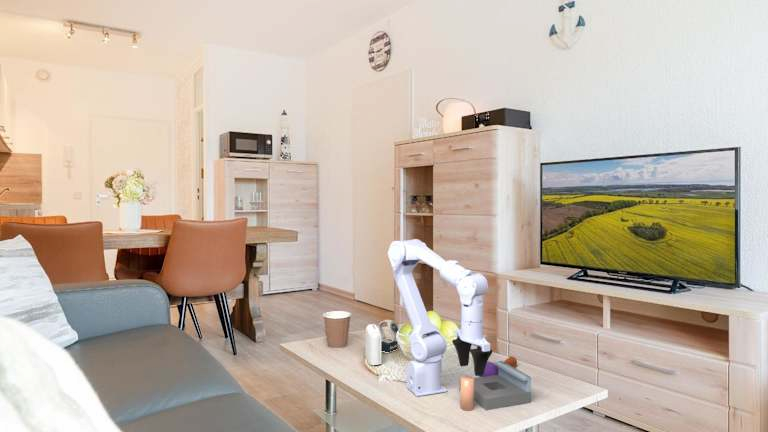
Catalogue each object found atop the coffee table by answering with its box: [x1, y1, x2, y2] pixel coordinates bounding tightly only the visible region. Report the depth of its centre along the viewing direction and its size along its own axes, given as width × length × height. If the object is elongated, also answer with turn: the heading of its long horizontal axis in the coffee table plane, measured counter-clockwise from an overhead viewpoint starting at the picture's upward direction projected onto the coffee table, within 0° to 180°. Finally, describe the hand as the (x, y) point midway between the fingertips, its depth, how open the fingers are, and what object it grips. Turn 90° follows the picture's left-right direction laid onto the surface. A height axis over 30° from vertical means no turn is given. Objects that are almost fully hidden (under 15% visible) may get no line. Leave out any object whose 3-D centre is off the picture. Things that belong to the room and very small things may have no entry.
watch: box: [377, 319, 400, 352], centre depth 181 cm, size 6×8×11 cm
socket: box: [459, 360, 532, 411], centre depth 140 cm, size 14×14×7 cm
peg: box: [459, 375, 475, 412], centre depth 133 cm, size 4×4×8 cm
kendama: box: [479, 356, 518, 377], centre depth 158 cm, size 6×6×20 cm
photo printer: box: [364, 323, 382, 366], centre depth 169 cm, size 10×4×12 cm, turn 13°
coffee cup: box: [322, 310, 352, 350], centre depth 185 cm, size 10×10×12 cm
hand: (471, 370), depth 134 cm, fingers open, 7 cm apart
